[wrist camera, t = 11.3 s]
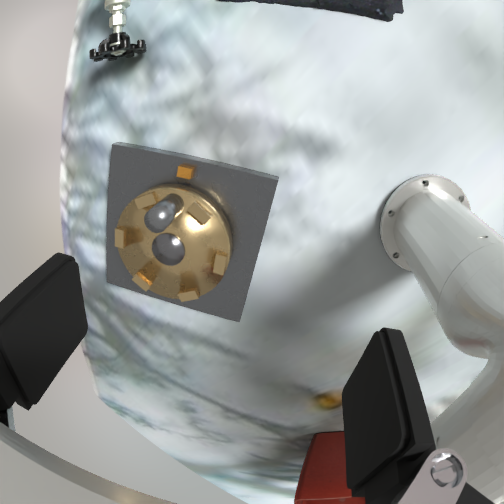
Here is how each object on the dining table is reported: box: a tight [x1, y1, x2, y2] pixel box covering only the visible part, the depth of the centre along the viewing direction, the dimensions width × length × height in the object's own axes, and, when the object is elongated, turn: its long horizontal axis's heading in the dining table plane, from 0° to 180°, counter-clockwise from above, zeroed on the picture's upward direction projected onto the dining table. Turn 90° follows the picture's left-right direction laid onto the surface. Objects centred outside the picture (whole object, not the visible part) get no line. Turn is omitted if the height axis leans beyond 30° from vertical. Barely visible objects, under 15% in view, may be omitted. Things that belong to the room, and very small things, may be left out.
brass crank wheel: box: [115, 184, 233, 302], centre depth 35 cm, size 14×14×8 cm
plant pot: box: [294, 432, 365, 504], centre depth 51 cm, size 19×19×17 cm
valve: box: [89, 0, 146, 62], centre depth 25 cm, size 7×7×12 cm
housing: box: [107, 142, 279, 322], centre depth 39 cm, size 20×20×3 cm
